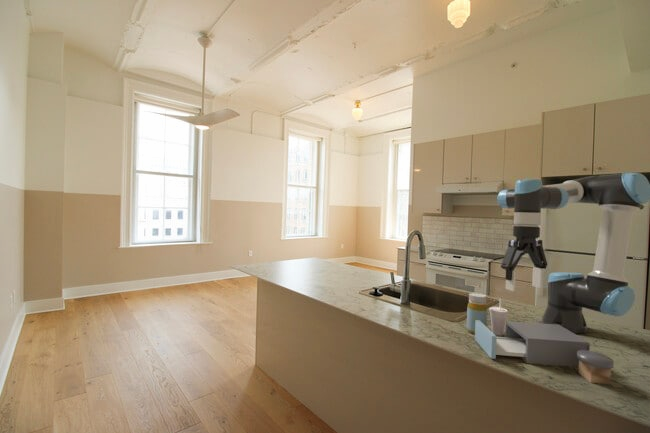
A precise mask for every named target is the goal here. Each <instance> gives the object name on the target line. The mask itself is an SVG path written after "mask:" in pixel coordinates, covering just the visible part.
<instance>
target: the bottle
mask: <svg viewBox="0 0 650 433" xmlns="http://www.w3.org/2000/svg"><path fill="white" fill-rule="evenodd" d="M466 308H467V310H466V330H467V332H469V333H470V334H472V335H475V320H480V321H481V322H482V323H483V324H484V325H485V326H486V327H487V323H488V322H487V321H488V306H487V295H486V294H484V293H480V292H469V294H468V303H467V307H466ZM487 328H488V327H487Z"/></svg>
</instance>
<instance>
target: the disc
mask: <svg viewBox="0 0 650 433" xmlns="http://www.w3.org/2000/svg"><path fill="white" fill-rule="evenodd" d="M577 359H578V360H580V361H581V362H583V363H585V364H587V365H590V366H593V367H597V368H602V369H611V370H612V369H614V364H615V363H614V362H615V361H614V359H613V358H611V357H610V356H608V355H606V354H603V353H600V352H597V351H593V350H590V349H589V350H579V351H577Z"/></svg>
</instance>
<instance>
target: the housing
mask: <svg viewBox="0 0 650 433" xmlns="http://www.w3.org/2000/svg"><path fill="white" fill-rule="evenodd" d="M504 330H505V333H504V334H505V335H504V337H506V338H521V339H525V340H526V355H525V357H520V358H521V359H522V360H523V361H524V362H525V363H526V364H534V365H546V366H547V365H548V366H559V367H560V366H561V367H573V368H579V360H578V359H577V351H579V350H589V351H590V344H591V343H590V341H589V340H588V341H587V340H586V339H584V338H583V337H580V336H579V335H577V333H572V332H571V331H569V330H567V329H566V328H564V327H562V326H560V325H558V324H543V323H542V322H541V323H540V322H527V321H526V322H522V321H511V320H509V321H507V320H506V321H505V327H504Z"/></svg>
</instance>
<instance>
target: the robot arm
mask: <svg viewBox="0 0 650 433" xmlns="http://www.w3.org/2000/svg"><path fill="white" fill-rule="evenodd" d="M514 187H515V188H507V189H503V190H501V191H500V192H499V193H498V195H497V204H498V205H499V207H501V208H502V209H508V210H510V209H513V224H514V225H513V227H512V228H513V229H512V236H513V237H514V238H515V240H514V239H509V240H508V245H507V248H506V251H505V253H504V256H503V259H502V261H501V265H500V268H501V269H503V270H505V290H507V291H511V292H515V291H516V274H517V273H516V270H515V268H516V267H517V265H518V263H519V261H520V260H521V258H522V257H523V256H524V255H527V254H528V256H529V258H530V260H531V262H532V264H533V266H534V267H532V280H531V286H532V287H535V288H540V289H541V288H543V287H542V283H543V269H545V270H546V269H547V267H548V261H547V256H546V254H545V251H544V247H543V246H544V245H543V239H540V237H541V228H540V225H541V223H542V222H541V218H542V217H541V215H542V209H543V210H544V209H545V210H549V209H550V210H558V209H562V208H565V207H566V205H567V204H575V203H579V204H591V205H592V204H593V205H594V204H595V205H596V204H597V206H598V208H599V209H600V211H602V213H601V218H600V224H599V225H600V226H599V231H598V239H597V243H596V244H597V245H596V251H595V256H594V263H593V268H592V271H591V272H589V273H587V274H586V278H585V276H584V273H582V272H579V273H578V272H567V271H566V272H563V271H560V272H559V271H558V272H556V271H555V272H551V273H550V274H549V275H548V281H547V285H548V286H547V306H546V308H545V310H544V312H543V314H542V316H541V323H542V324H558V325H560V326H562V327H564V328H566V329H567V330H569V331H571V332H572V333H574V334H585V333H588V325H587V322H586V319H585V316H584V314H583V308H584V309H586V310H587V309H588V310H590V311H594V312H598V313H600V314H603V315H608V316H613V317H622V316H624V315H626V314H627V313H628V312H630V310H631V309H632V307H633V305H634V302H635V298H636V296H635V295H636V294H635V290H634V289H633V288H632V287H631V286H628V285H629V281H628V280H627V279H626V278H625V276H624V275H625V268H626V263H627V262H626V261H627V255H628V250H629V244H630V243H629V242H630V238H631V237H630V236H631V230H632V225H633V217H634V214H635V213H636V212H639V211H640V210H641V205H644V204H647V203H648V202H649V200H650V182H649V180H648V178H647V177H646V176H645V175H644V174H642V173H640V172H622V173H612V174H600V175H590V176H586V177H580V178H576V179H571V180H566V181H564V182H562V183H556V184H554V183H553V184H546V185H545V184H544V185H543V181H542V180H541V179H537V178H525V179H518V180H516V182H515V186H514Z"/></svg>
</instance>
